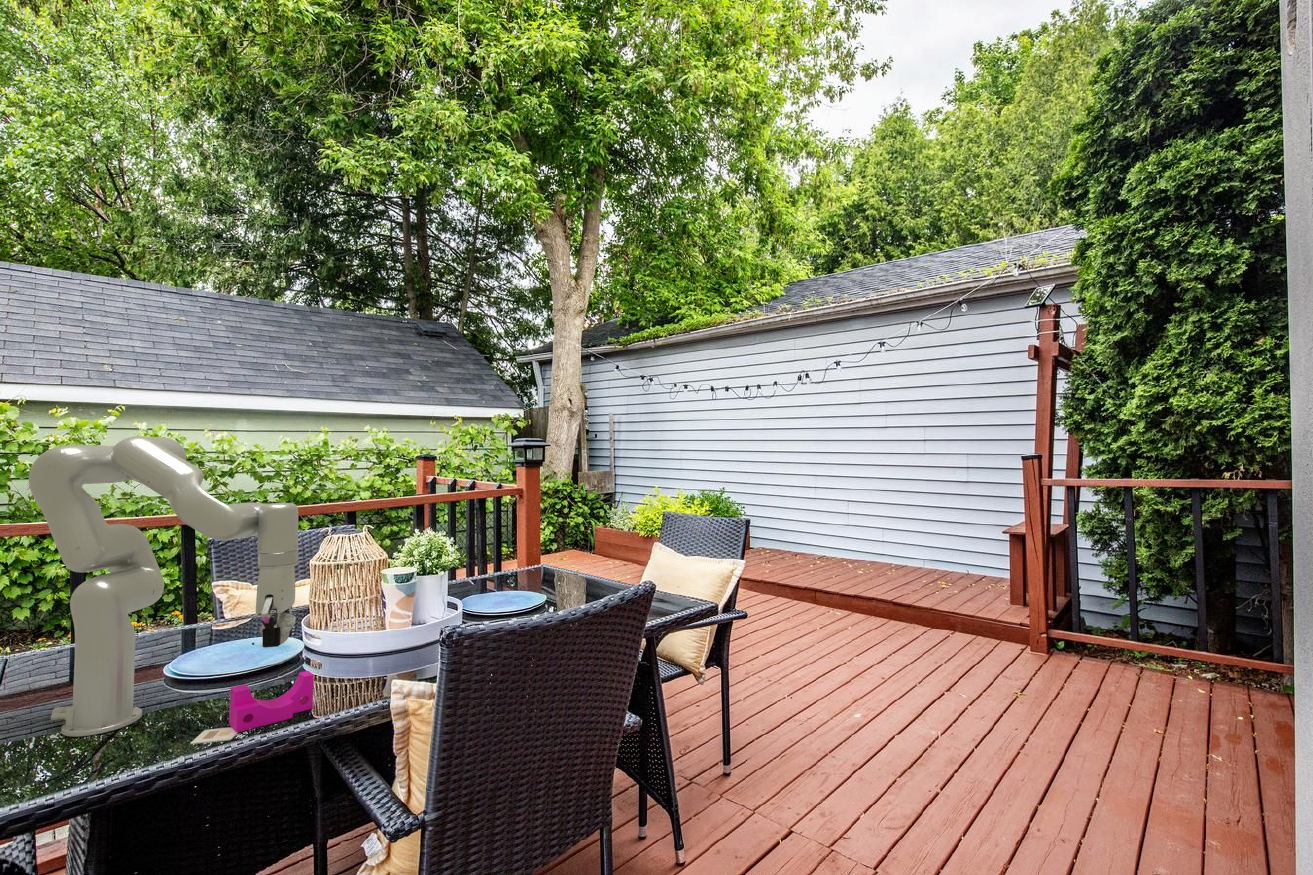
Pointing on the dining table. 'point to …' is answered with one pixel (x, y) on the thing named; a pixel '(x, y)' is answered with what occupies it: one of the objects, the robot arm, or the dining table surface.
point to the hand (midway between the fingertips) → (277, 640)
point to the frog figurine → (284, 626)
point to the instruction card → (215, 735)
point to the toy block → (269, 704)
